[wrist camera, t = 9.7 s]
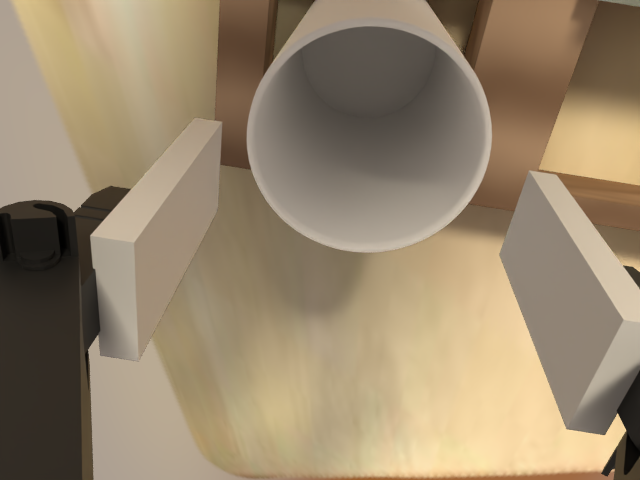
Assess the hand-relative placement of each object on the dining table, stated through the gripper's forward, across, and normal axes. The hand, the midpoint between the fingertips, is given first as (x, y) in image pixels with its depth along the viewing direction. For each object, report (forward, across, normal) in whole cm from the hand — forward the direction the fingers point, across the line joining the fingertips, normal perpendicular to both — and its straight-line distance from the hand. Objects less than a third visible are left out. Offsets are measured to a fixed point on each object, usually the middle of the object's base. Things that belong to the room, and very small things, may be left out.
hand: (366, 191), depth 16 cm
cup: (+20, 0, 0) cm, 20 cm away
